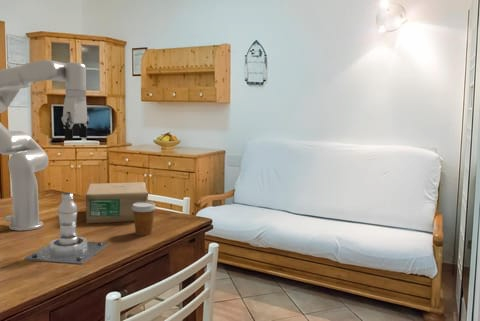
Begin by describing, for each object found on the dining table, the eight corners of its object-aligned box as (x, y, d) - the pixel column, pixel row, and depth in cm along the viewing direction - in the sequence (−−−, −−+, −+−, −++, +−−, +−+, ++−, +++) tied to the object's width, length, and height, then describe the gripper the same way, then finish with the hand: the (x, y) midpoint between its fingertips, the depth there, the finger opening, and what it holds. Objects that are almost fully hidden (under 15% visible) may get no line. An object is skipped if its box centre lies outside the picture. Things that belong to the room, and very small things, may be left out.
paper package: (85, 224, 182) (84, 192, 180) (89, 210, 207) (89, 182, 205) (149, 221, 189) (149, 191, 187) (146, 208, 214) (146, 181, 212)
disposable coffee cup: (131, 237, 166) (130, 207, 164) (132, 230, 175) (132, 201, 174) (155, 236, 168) (155, 206, 166) (155, 229, 177) (155, 201, 175)
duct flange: (24, 259, 139) (24, 249, 138) (57, 241, 159) (56, 231, 158) (82, 263, 137) (82, 253, 136) (108, 244, 156) (108, 235, 156)
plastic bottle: (72, 245, 152) (71, 191, 150) (82, 250, 148) (81, 193, 145) (54, 250, 147) (53, 193, 145) (64, 254, 143) (63, 196, 140)
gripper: (79, 95, 175) (80, 136, 177) (53, 93, 158) (54, 139, 161) (96, 96, 174) (96, 137, 176) (71, 94, 157) (71, 140, 159)
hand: (76, 138), depth 168 cm, fingers open, 9 cm apart
